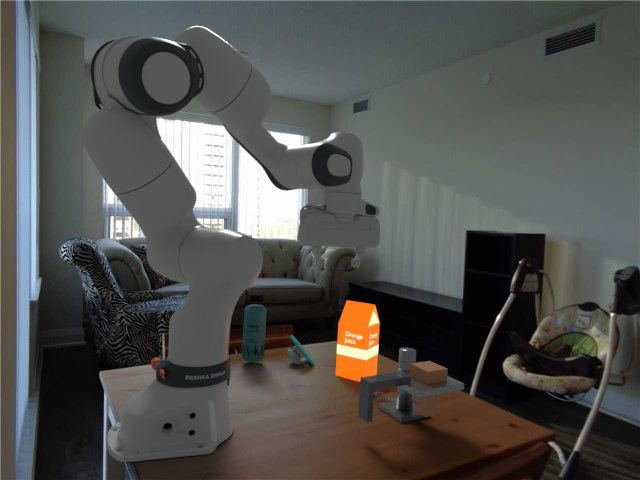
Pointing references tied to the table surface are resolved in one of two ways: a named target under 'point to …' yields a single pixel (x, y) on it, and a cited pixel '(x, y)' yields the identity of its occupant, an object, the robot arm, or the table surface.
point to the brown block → (427, 374)
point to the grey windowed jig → (400, 390)
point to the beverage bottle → (254, 330)
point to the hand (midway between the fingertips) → (338, 266)
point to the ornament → (298, 353)
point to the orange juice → (357, 341)
